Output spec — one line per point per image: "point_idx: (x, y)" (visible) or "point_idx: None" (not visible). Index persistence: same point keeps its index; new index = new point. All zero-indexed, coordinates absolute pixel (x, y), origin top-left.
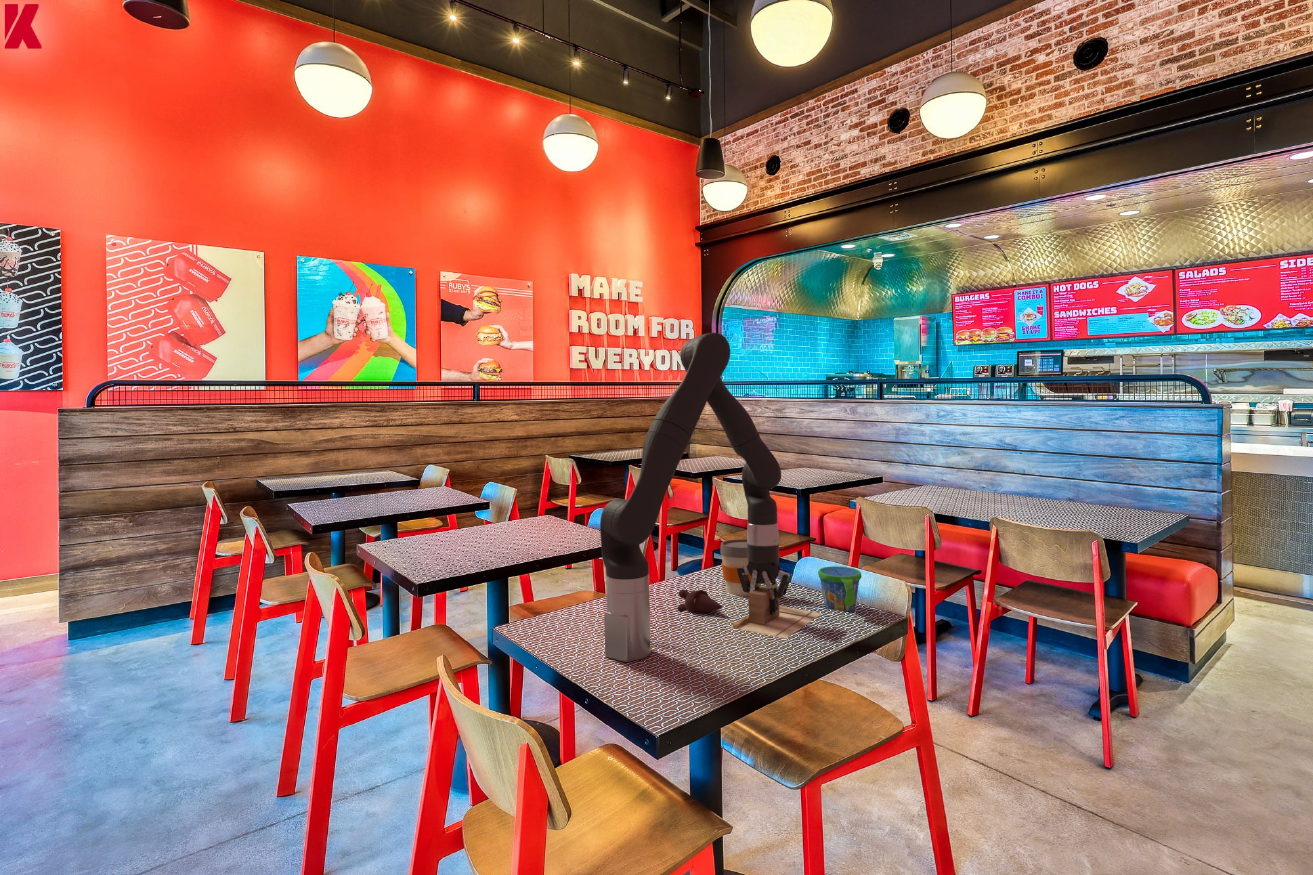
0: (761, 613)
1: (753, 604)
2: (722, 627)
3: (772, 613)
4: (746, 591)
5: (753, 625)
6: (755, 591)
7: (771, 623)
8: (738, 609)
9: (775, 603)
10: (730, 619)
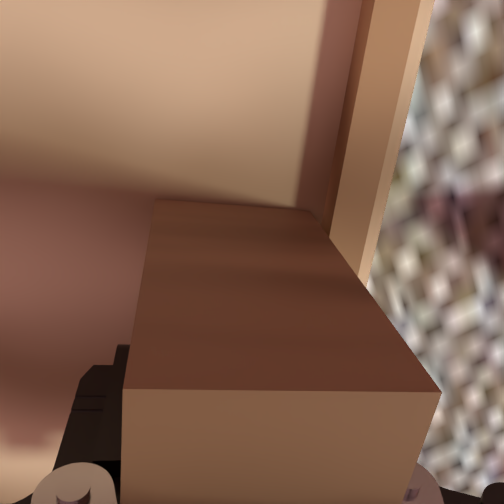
0: (179, 241)
1: (298, 290)
2: (501, 120)
3: (116, 348)
4: (485, 494)
5: (241, 148)
6: (345, 494)
7: (120, 271)
8: (468, 471)
9: (63, 439)
10: (478, 304)
